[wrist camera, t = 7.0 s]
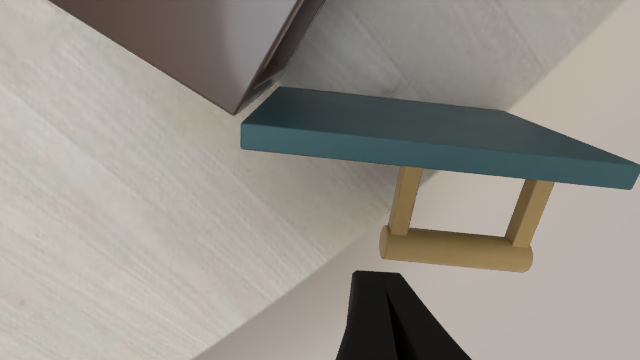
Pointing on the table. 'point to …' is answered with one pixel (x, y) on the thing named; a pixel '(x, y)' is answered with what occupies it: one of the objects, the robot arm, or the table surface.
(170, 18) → the cabinet
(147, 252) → the table surface
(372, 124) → the cabinet door
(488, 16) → the table surface
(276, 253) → the table surface
